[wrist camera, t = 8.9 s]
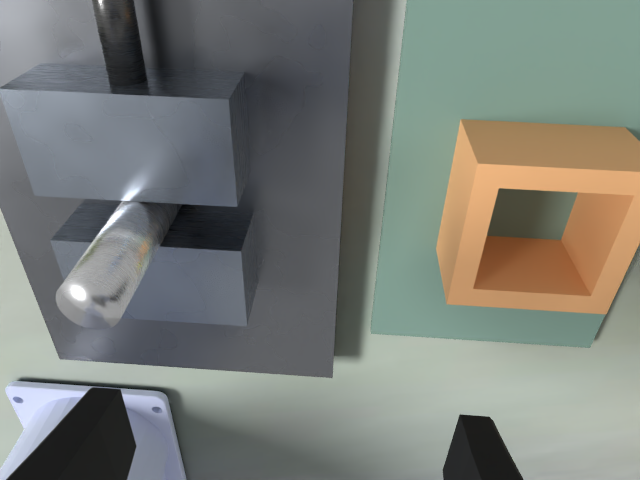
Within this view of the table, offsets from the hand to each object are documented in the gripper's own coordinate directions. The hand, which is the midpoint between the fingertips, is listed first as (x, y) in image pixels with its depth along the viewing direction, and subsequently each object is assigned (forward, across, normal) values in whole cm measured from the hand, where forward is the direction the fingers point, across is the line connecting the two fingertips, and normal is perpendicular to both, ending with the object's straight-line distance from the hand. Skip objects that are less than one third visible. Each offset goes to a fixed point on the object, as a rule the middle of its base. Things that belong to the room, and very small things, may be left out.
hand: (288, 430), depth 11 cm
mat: (+9, -7, -1) cm, 12 cm away
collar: (+9, -7, -1) cm, 11 cm away
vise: (+9, +5, -1) cm, 11 cm away
